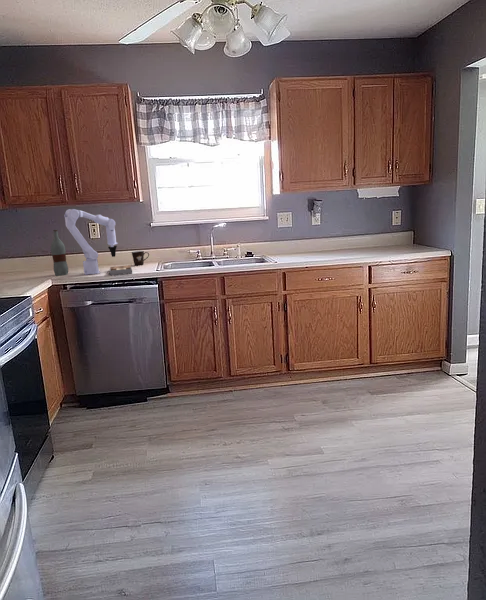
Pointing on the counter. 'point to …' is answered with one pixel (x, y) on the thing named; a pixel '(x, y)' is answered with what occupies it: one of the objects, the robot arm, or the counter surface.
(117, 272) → the box
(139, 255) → the coffee mug
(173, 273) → the counter surface
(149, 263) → the counter surface
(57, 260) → the bottle
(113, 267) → the plate
